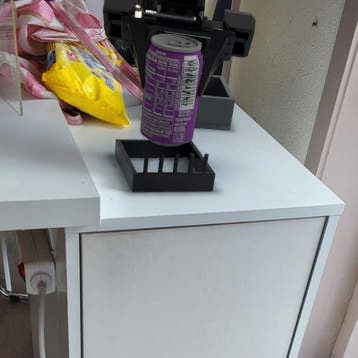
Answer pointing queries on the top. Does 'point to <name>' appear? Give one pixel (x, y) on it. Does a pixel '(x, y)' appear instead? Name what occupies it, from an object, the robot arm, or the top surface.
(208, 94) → the grey storage bin
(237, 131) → the top surface
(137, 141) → the dish rack
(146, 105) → the beverage can
